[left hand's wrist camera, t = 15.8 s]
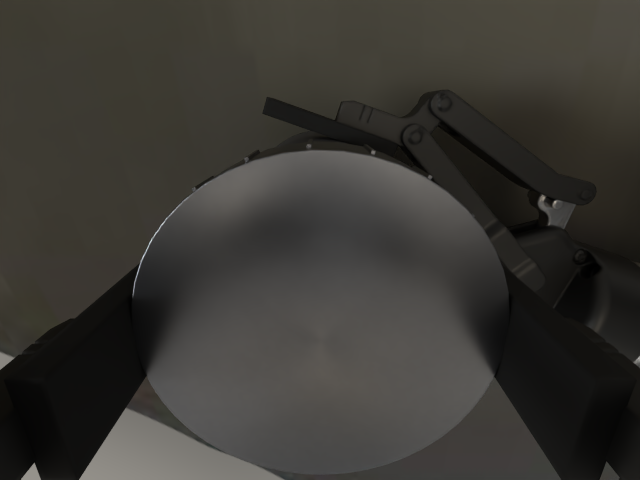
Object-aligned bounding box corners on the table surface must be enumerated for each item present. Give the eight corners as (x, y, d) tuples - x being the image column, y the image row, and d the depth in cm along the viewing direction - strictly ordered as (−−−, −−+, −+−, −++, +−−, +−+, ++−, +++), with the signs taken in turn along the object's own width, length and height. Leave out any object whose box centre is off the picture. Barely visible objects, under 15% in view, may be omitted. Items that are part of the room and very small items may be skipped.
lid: (109, 330, 13) (66, 376, 10) (274, 57, 10) (261, 42, 7) (349, 458, 15) (354, 518, 12) (544, 266, 12) (595, 302, 10)
